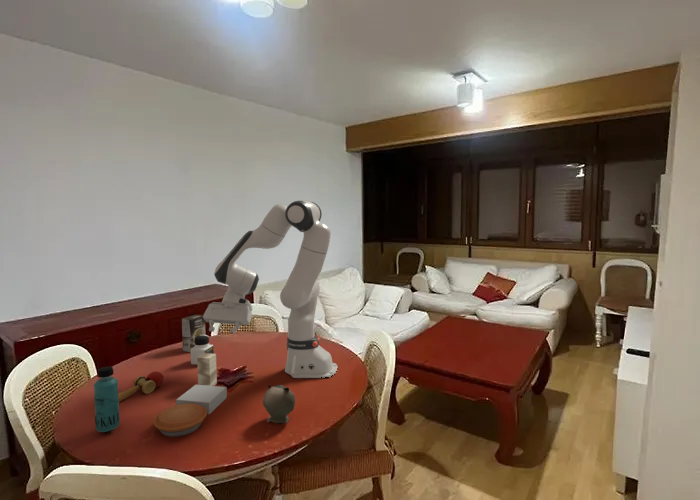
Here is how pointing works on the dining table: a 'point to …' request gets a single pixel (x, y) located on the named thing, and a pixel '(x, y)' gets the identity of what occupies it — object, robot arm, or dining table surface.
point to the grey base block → (204, 396)
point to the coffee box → (192, 330)
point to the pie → (180, 419)
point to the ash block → (207, 369)
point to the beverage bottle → (106, 400)
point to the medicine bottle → (200, 348)
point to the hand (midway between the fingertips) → (221, 331)
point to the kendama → (143, 385)
